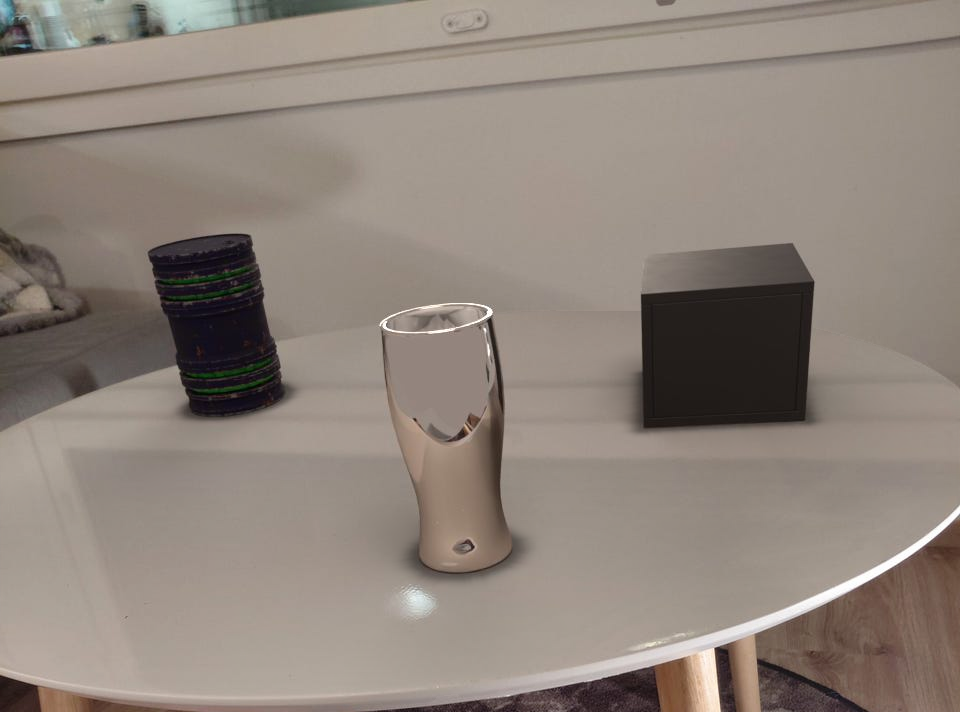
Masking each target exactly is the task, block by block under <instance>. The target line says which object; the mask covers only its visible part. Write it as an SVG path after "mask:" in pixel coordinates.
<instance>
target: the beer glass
mask: <svg viewBox="0 0 960 712" xmlns="http://www.w3.org/2000/svg"><path fill="white" fill-rule="evenodd" d="M379 329H380V336H381V348H382V349H381V350H382V362H383V363H382V364H383V373H384V374H383V375H384V383H385V390H386V399H387V403H388V408H389V414H390V418H391V422H392V425H393V426H392V427H393V429H394V432H395V437H396V439H397V442H398V446H399V449H400V451H401V454H402V458H403V460H404V463H405V466H406V469H407V471H408V474H409V477H410V480H411V483H412V488H413V489H414V493H415V498H416V501H417V507H418V515H419V537H418V539H419V542H418V553H419V558H420V560H421V562H422V563H423V564H424V565H425V566H427V567H428V568H430V569H432V570H435V571H438V572H444V573H457V574H458V573H469V572H470V573H471V572H476V571H480V570H484V569H487V568H490V567H492V566H495V565H497V564H498V563H501V562H502V561H503V560H504V559H506V557H508V556H509V554H510V553H511V551H512V549H513V548H512V547H513V541H512V536H511V533H510V529H509V526H508V523H507V520H506V517H505V513H504V508H503V502H502V493H501V490H502V489H501V476H502V461H503V450H504V435H505V414H506V413H505V411H506V403H505V402H506V401H505V387H504V377H503V375H504V374H503V369H502V361H501V355H500V349H499V344H498V343H499V342H498V337H497V332H496V327H495V321H494V311H493V310H492V308H490V307H489V306H486V305H482V304H477V303H463V302H462V303H458V302H457V303H442V304H433V305H426V306H420V307H415V308H410V309H407V310H403V311H401V312H397V313H395V314H392V315H390V316H388V317H387V318H385V319H383V320H382V321H381V322H380V324H379Z"/></svg>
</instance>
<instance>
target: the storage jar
mask: <svg viewBox="0 0 960 712" xmlns="http://www.w3.org/2000/svg"><path fill="white" fill-rule="evenodd" d="M253 247H254V242H253V238H252V235H251V234H249V233H237V232H236V233H220V234H211V235H203V236H197V237H191V238H186V239H180V240H175V241H172V242H167V243H163V244H161V245H158V246H155V247H152V248H151V249H149V250H148V251H147V256H148V260H149V262H150V263H151V265H152V268H151V271H152V275H153V278H154V279H155V280H154V282H153V283H154V286H155V290H156V294H157V295H158V296H159V302H160V305H159V307H161V309H162V313H163V314H164V315H165V316H166V317H167V321H168V324H169V327H170V332H171V335H172V339H173V342H174V346H175V349H176V352H175V354H174V355H175V356H174V357H175V361H176V362H175V364H176V366H177V369H178V370H179V372H178V374H179V378H180V381H181V385H182V386H183V388H184V393H185V394H186V396H187V397H188V401H189V402H188V407H189V410H190V412H191V413H193V414H194V415H197V416H201V417H211V418H212V417H215V418H216V417H229V416H237V415H242V414H247V413H251V412H255V411H259V410H261V409H265V408H266V407H269V406H272V405H274V404H277V403H278V402H279V401H280V400H282V399H283V398H284V397H285V395H286V389H285V385H284V384H283V382H282V378H283V375H282V371H281V368H282V366H281V361H280V356H279V354H278V349H277V348H278V346H277V344H276V341H275V338H274V337H273V336H272V335H271V331H270V327H269V322H268V317H267V313H266V308H265V305H264V298H265V296H266V295H265V291H264V290H265V287H264V286H263V281H262V279H261V278H262V274H261V270H260V264H259V263H257V262H258V261H257V257H256V256H257V255H256V252H255V251H254V250H253Z"/></svg>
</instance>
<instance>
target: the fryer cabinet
mask: <svg viewBox="0 0 960 712" xmlns="http://www.w3.org/2000/svg"><path fill="white" fill-rule="evenodd" d="M803 260H804V259H802V257H801V255H800V253H799V252H798V249H797V248H796V247H795V244H794V243H793V242H787V243H775V244H763V245H750V246H739V247H727V248H726V247H725V248H714V249H703V250H702V249H701V250H690V251H677V252H666V253H654V254H653V253H652V254H644V255H643V263H642V275H641V286H640V319H641V321H640V325H641V327H640V328H641V369H642V370H641V371H642V373H641V375H642V414H643V415H642V417H643V423H642V424H643V429H653V428H654V429H655V428H674V427H694V426H695V427H696V426H713V425H715V426H717V425H736V424H756V423H757V424H758V423H777V422H779V423H780V422H799V421H806V411H807V410H806V409H807V397H808V384H809V382H808V381H809V371H810V370H809V369H810V353H811V340H812V324H813V313H814V312H813V311H814V297H815V293H814V292H815V283H816V282H815V280H814V278H813V276H812V275H811V273H810V271H809V269H808V267H807V265H806V263H805V262H804V261H803Z"/></svg>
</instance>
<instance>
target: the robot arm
mask: <svg viewBox="0 0 960 712" xmlns="http://www.w3.org/2000/svg"><path fill="white" fill-rule="evenodd" d="M676 1H677V0H655V3H656V5H657V6H659V7H665V6H672V5H674V3H676Z"/></svg>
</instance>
